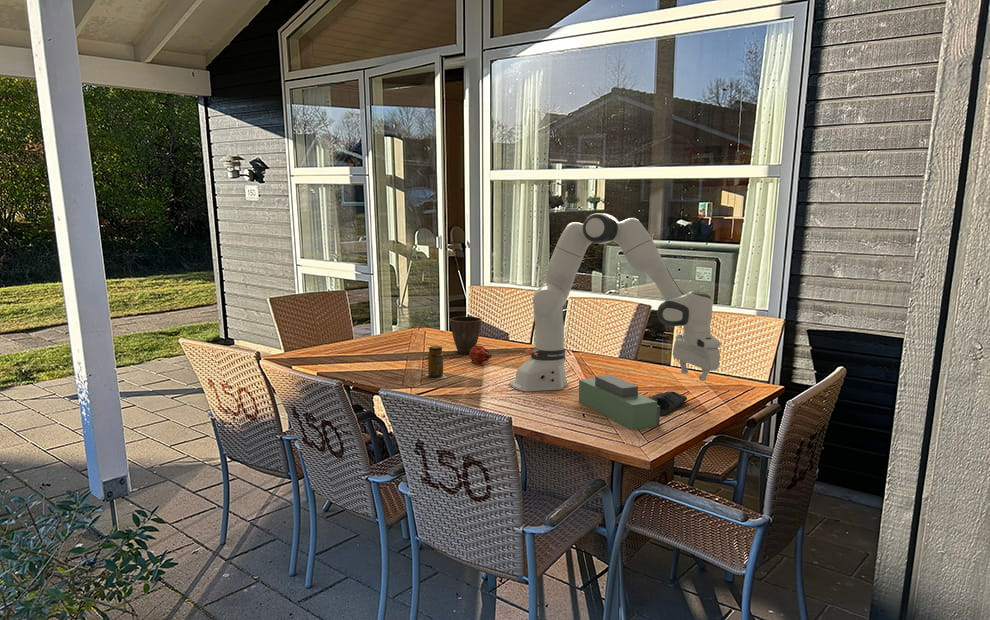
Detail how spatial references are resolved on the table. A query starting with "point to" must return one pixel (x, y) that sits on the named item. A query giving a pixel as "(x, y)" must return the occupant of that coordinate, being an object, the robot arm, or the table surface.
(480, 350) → the dragon fruit
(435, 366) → the condiment
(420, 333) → the table surface
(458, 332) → the plant pot
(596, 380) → the block
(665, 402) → the black crumpled cloth
